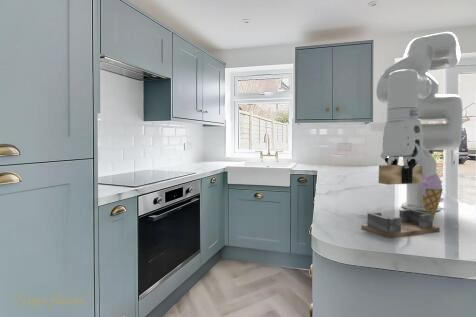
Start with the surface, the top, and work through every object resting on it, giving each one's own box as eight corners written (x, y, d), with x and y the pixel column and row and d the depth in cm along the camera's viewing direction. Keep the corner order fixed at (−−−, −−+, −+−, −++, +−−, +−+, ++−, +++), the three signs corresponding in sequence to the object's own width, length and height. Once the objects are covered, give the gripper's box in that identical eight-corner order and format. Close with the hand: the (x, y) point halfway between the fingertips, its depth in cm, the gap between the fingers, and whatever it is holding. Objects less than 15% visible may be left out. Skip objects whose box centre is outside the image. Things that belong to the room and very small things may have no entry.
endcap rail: (408, 222, 94) (408, 208, 94) (439, 231, 85) (440, 215, 85) (361, 228, 88) (361, 212, 88) (389, 237, 79) (389, 220, 79)
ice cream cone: (433, 222, 94) (434, 174, 94) (413, 218, 100) (414, 172, 99) (445, 220, 97) (447, 173, 97) (426, 216, 103) (427, 171, 102)
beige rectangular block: (411, 182, 89) (411, 165, 89) (421, 183, 86) (422, 165, 86) (378, 183, 85) (379, 165, 85) (388, 184, 82) (389, 165, 82)
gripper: (440, 113, 79) (438, 185, 79) (388, 119, 94) (387, 179, 95) (418, 112, 76) (416, 186, 77) (369, 118, 92) (367, 179, 92)
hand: (400, 181), depth 86 cm, fingers closed on beige rectangular block, 3 cm apart
